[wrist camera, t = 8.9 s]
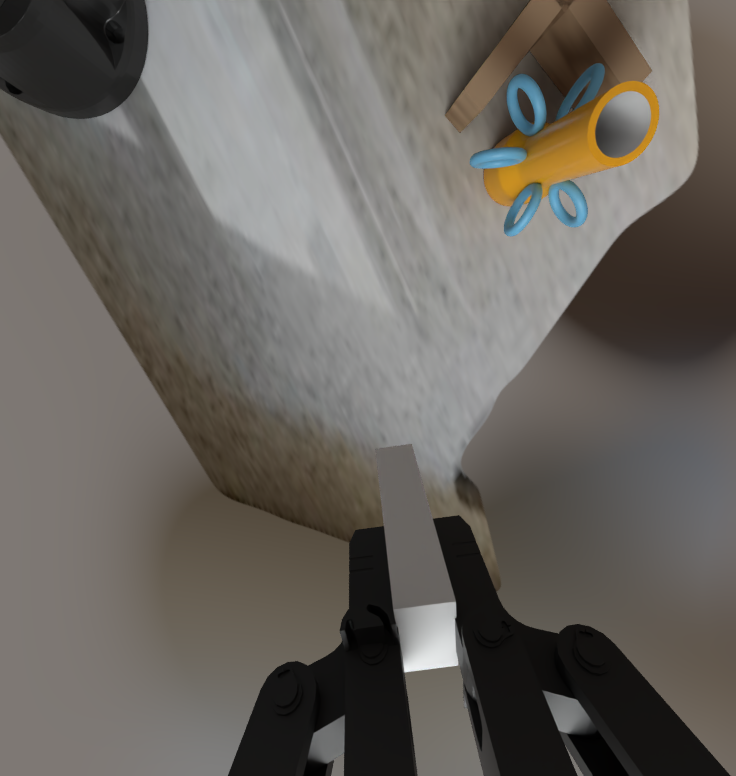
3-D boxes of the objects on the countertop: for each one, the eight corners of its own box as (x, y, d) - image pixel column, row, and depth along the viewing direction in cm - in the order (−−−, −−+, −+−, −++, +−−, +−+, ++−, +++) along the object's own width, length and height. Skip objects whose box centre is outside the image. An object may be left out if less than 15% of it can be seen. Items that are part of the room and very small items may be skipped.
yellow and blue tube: (587, 194, 34) (742, 164, 21) (495, 259, 37) (578, 272, 23) (536, 65, 30) (686, -80, 17) (434, 147, 32) (493, 80, 19)
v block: (597, 119, 32) (647, 94, 26) (444, 134, 32) (463, 112, 27) (615, -8, 29) (677, -67, 23) (444, 9, 29) (465, -45, 23)
